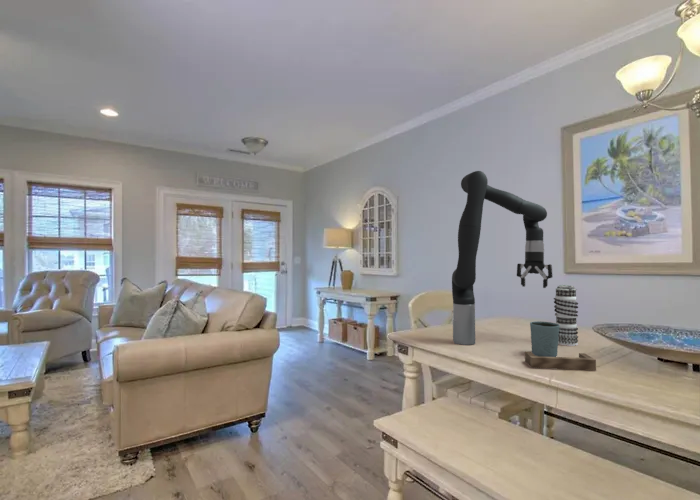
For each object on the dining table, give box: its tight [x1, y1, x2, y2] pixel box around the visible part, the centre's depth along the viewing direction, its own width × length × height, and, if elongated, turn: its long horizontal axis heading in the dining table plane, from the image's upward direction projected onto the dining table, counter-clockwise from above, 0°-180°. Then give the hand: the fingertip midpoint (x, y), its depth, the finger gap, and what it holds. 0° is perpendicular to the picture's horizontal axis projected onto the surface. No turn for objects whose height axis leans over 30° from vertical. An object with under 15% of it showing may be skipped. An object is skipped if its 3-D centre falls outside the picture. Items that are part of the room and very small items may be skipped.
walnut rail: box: [524, 351, 597, 371], centre depth 129 cm, size 20×8×4 cm, turn 80°
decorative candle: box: [553, 284, 579, 347], centre depth 160 cm, size 9×9×25 cm
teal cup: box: [529, 321, 560, 357], centre depth 143 cm, size 10×10×12 cm
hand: (534, 287), depth 166 cm, fingers open, 8 cm apart
